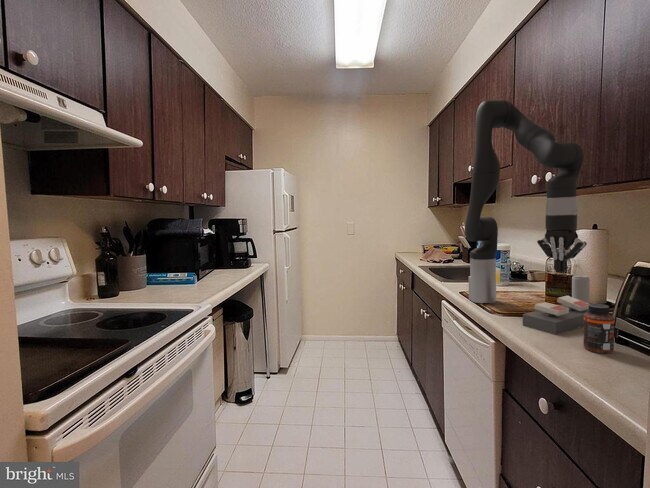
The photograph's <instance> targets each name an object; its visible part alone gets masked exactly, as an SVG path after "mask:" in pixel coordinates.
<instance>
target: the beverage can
mask: <svg viewBox="0 0 650 488" xmlns="http://www.w3.org/2000/svg"><path fill="white" fill-rule="evenodd" d="M590 281H591V280H590V276H589V275H587V274H586V275H585V274H573V275H572V277H571V297H573V298H575V299H578V300H580V301H583V302H585V303H588V304H590V297H591V296H590V285H591V283H590Z"/></svg>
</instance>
